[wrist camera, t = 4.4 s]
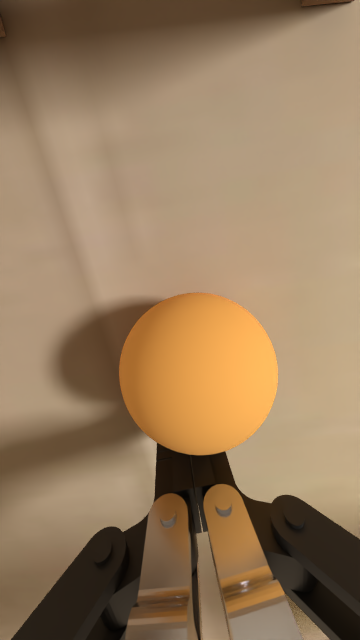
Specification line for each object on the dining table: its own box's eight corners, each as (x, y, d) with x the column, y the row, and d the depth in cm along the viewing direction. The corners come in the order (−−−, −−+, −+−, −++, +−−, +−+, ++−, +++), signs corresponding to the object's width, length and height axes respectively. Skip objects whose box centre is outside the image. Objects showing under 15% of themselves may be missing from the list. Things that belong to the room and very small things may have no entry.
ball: (255, 410, 11) (334, 491, 5) (143, 422, 11) (99, 515, 6) (241, 299, 12) (298, 261, 6) (133, 311, 12) (82, 285, 6)
